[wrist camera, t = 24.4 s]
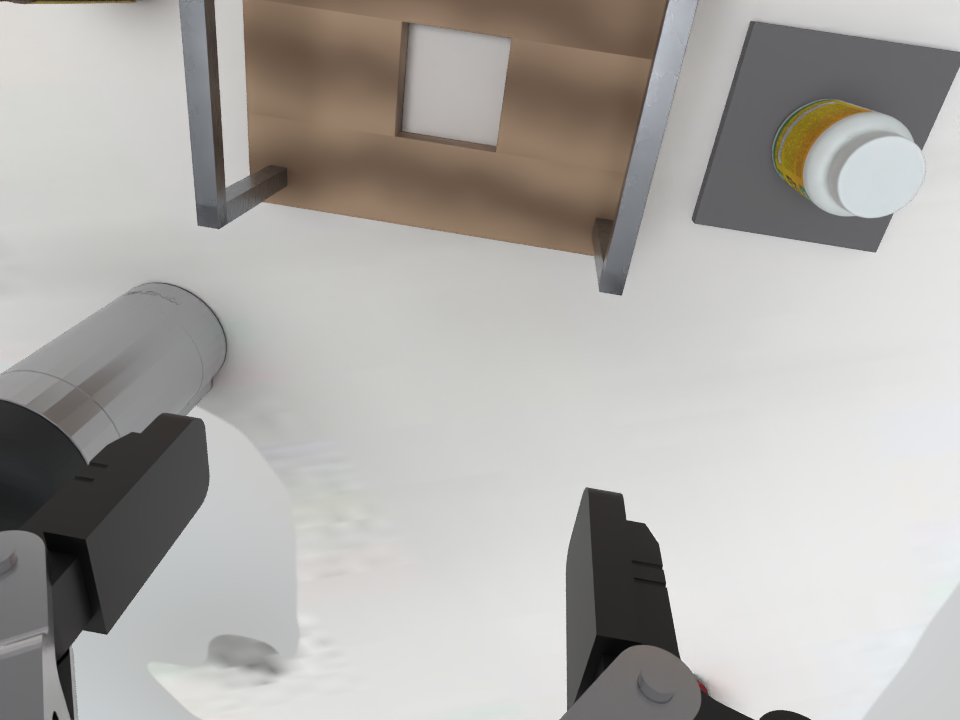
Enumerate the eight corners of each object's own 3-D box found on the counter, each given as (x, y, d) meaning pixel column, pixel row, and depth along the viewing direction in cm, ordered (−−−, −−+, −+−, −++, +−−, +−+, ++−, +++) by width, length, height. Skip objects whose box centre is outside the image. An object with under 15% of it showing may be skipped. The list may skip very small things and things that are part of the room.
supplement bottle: (880, 112, 39) (969, 139, 30) (833, 198, 41) (903, 245, 33) (794, 86, 39) (860, 106, 30) (753, 174, 41) (803, 215, 33)
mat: (869, 247, 43) (875, 252, 43) (691, 219, 44) (694, 223, 43) (956, 52, 38) (965, 53, 37) (750, 21, 38) (755, 21, 37)
